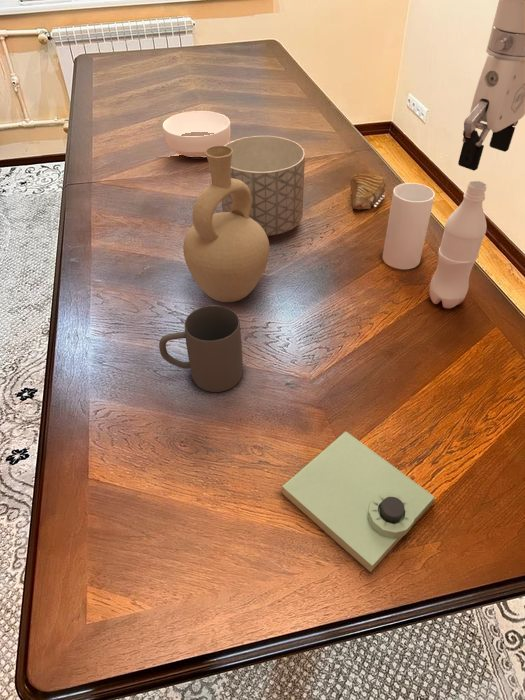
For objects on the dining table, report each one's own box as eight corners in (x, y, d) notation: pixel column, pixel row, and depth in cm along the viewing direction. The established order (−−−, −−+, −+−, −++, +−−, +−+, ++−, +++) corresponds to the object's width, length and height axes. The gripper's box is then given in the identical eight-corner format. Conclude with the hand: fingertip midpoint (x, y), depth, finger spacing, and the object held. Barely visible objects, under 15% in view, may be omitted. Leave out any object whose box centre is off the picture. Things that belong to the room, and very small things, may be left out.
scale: (435, 506, 75) (440, 492, 73) (373, 575, 69) (377, 562, 66) (344, 438, 84) (346, 424, 82) (281, 493, 77) (282, 480, 75)
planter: (272, 199, 140) (272, 129, 127) (317, 230, 128) (322, 156, 116) (209, 221, 132) (202, 149, 120) (251, 256, 121) (249, 180, 108)
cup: (388, 245, 123) (399, 179, 112) (424, 253, 121) (439, 187, 110) (377, 263, 118) (388, 197, 107) (414, 273, 115) (429, 205, 104)
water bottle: (429, 286, 112) (457, 172, 95) (464, 293, 110) (500, 178, 93) (424, 307, 107) (453, 191, 90) (461, 314, 105) (499, 197, 88)
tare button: (407, 512, 71) (409, 506, 70) (393, 527, 70) (395, 521, 69) (388, 498, 73) (390, 492, 72) (375, 512, 71) (376, 506, 70)
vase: (235, 328, 103) (225, 182, 83) (172, 297, 111) (149, 155, 90) (285, 286, 113) (288, 145, 92) (224, 259, 120) (214, 124, 99)
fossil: (381, 190, 142) (347, 186, 142) (387, 171, 138) (353, 167, 137) (386, 219, 135) (351, 215, 134) (393, 200, 130) (356, 196, 130)
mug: (240, 353, 98) (237, 302, 90) (246, 390, 92) (243, 338, 83) (165, 361, 97) (155, 310, 89) (165, 399, 91) (154, 347, 82)
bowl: (192, 172, 152) (189, 142, 146) (153, 151, 162) (149, 122, 157) (245, 151, 161) (244, 123, 155) (204, 133, 172) (202, 105, 166)
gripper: (511, 61, 70) (476, 183, 82) (569, 34, 79) (529, 149, 91) (460, 49, 74) (433, 167, 86) (521, 25, 83) (489, 136, 94)
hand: (483, 157), depth 88 cm, fingers open, 9 cm apart
